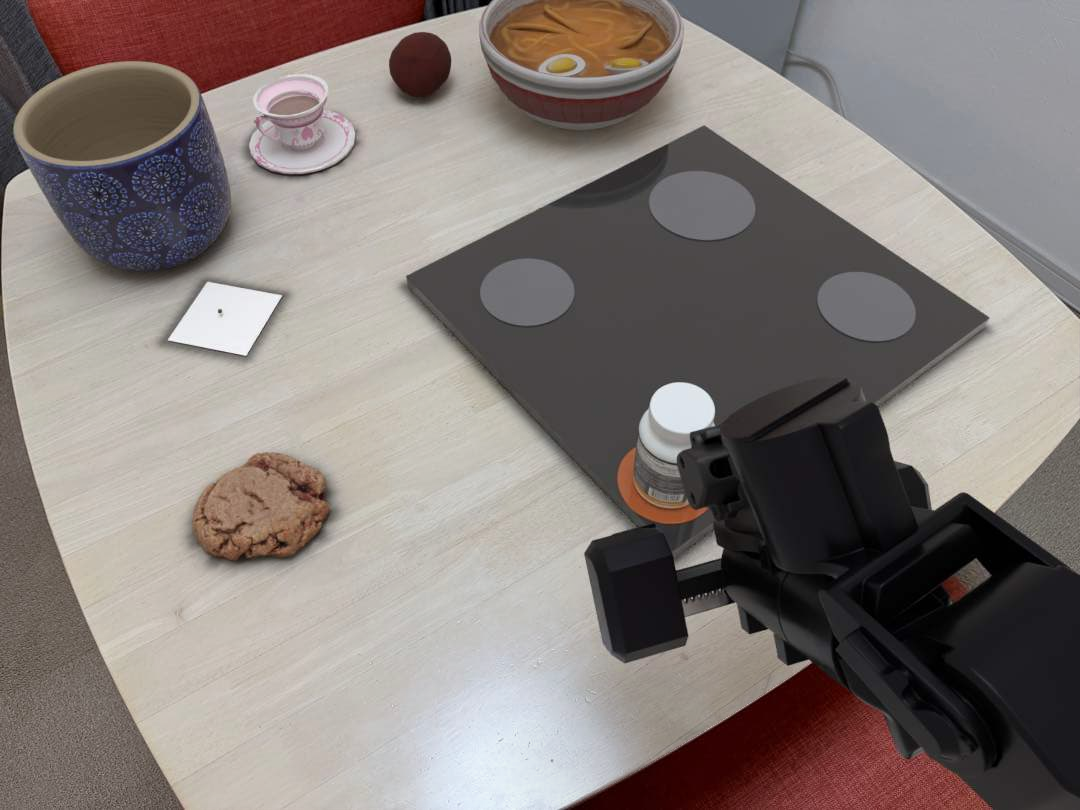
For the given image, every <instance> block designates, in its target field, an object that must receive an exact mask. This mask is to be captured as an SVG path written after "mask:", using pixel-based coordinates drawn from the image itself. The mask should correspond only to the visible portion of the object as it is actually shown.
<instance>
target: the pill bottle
mask: <svg viewBox="0 0 1080 810" xmlns="http://www.w3.org/2000/svg"><path fill="white" fill-rule="evenodd" d="M714 416H715V406H714V403H713V401H712V399H711V397H710V396H709V395H708V394H707V393H706V392H705V391H704V390H703V389H701V388H700V387H698V386H695V385H693V384H690V383H683V382H677V383H670V384H667V385H665V386H663V387H661V388H660V389H658V390H657V391H656V392H655V393H654V395H653V396H652V398H651V401H650V406H649V409H648V410H647V411H646V412H645V413H644V415H643V417H642V419H641V421H640V424H639V428H638V437H637V444H636V452H635V461H634V470H633V480H634V484H635V487H636V489H637V491H638V492H639V493H640V495H641V496H642V497H643V498H644V499H645V500H647V501H648V502H650V503H651V504H653V505H656V506H659V507H662V508H680V507H684V506H686V505H689V503H688V500H687V497H686V493H685V490H684V487H683V483H682V480H681V477H680V474H679V470H678V467H677V455H678V454H679V453H680V452H681V451H683V450H686V449H689V448H691V442H690V432H693V431H697V430H701V429H705V428H709V427H713V426H715V425H714V422H713V421H714Z"/></svg>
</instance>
